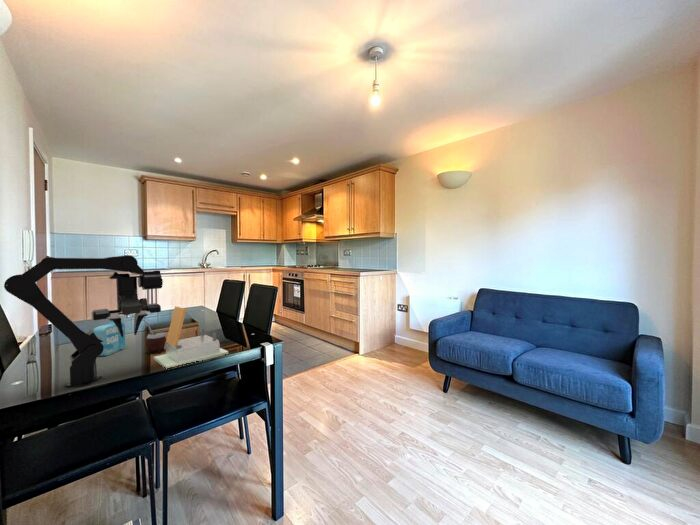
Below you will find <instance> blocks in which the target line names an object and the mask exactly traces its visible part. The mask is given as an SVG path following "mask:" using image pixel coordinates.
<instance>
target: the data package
mask: <svg viewBox="0 0 700 525" xmlns="http://www.w3.org/2000/svg"><path fill="white" fill-rule="evenodd" d="M121 324H122V329H123V337H121V335H120V333H119V331H118V329H117V327H116V325H115V323H114V322H110V323H106V324H103V325H99V326H97V327H94V329H93V330H92V331H93V332H94V334H95V335H96V336H97V337H100V338H101V339H102V341H103V342H101V343H102V345H103V347H104V349H103V352H102V353H101V354H100V355H99V356H98V357H107V355H108V356H110V355H112V354H111V353H113V352H115V351H117V352H119V351H118V350H120V349H122V348H124V349H125V347H126V333H125V332H126V331H125V330H126V329H125V328H126V326H125V322H122V321H121ZM122 350H123V349H122ZM120 351H121V350H120ZM115 353H116V352H115ZM109 354H110V355H109ZM113 354H114V353H113Z"/></svg>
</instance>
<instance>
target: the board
mask: <svg viewBox="0 0 700 525" xmlns="http://www.w3.org/2000/svg"><path fill="white" fill-rule="evenodd" d="M225 354H226V355H229V351H228V350H226V349H223V348H222V347H220V353H217V354H213V355H209V356H205V357H201V358H197V359H193V360H189V361H185V362H181V363H177V362H176V361H174V360H173V359H172V358H170V357H169V356H167V355H166V353H164V354H160V355H156V356H155V355H154V356H153V360H154V361H155V362H156V363H158V364H159V365H160V366H161V365H162V366H161V367H162V368H164V367H165V368H166V369H167V368H170V367H175V366H178V365H182V364H186V363H191V362H195V363H197V362H196V361H199V362H203V361H206V360H210V359H213V358H218V357H223V356H225ZM202 360H203V361H202ZM191 364H192V363H191ZM165 368H164V369H165ZM175 368H176V367H175ZM166 369H165V370H166Z"/></svg>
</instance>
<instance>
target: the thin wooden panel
mask: <svg viewBox="0 0 700 525" xmlns="http://www.w3.org/2000/svg"><path fill="white" fill-rule="evenodd" d="M173 309H174V310H173V314H172V318H171V321H170V325H169V327H168V328H169V329H168V332H167V336H166V342H167V343H169V344H170V345H172V346H174V347H176V346H177V345H178V341H179V340H180V337H181V333H182V328H183V325H184V320H185V317H186V313H187V308H183V307H180V306H174V308H173ZM166 342H165V343H166Z"/></svg>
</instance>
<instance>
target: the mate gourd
mask: <svg viewBox="0 0 700 525" xmlns="http://www.w3.org/2000/svg"><path fill="white" fill-rule="evenodd" d="M142 321H143V322H145V324H146V326H147V327H148V330H149V333H148V334H147V336H146V340H145V343H146V344H145V345H146V347H147V351H148V352H147V354H148V355H151V354H161V353H162V352H163V350H164V351H166V348H165V347H166V340H167V336H166V334H165V332H163V331H156V332H153V331H152V329H151V328H152V327H151V326H150V323H149V322H148V321H147V320H146V319H144V318H143V319H142Z"/></svg>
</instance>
